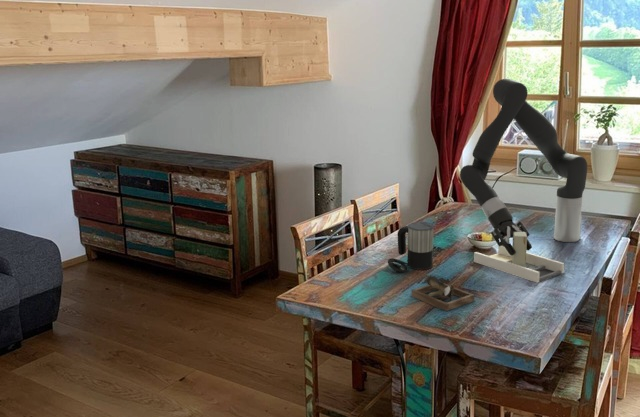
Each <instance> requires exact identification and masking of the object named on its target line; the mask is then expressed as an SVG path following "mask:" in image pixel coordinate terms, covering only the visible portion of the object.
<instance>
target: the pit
mask: <svg viewBox="0 0 640 417" xmlns="http://www.w3.org/2000/svg"><path fill="white" fill-rule="evenodd" d="M532 270H535V271H538V272H540V275H539V282H538V283H540V282H543V281H546V280H548V279H551V278H554V277H557V276H559V275H562V274H561V271H560V270H558V271H552V270H549V269H545V266H544V265H543V266H540V267H538V266H536V268H535V267H534V268H532Z"/></svg>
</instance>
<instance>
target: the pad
mask: <svg viewBox="0 0 640 417" xmlns="http://www.w3.org/2000/svg"><path fill="white" fill-rule="evenodd" d="M490 256H491V257H494V258H497V259H500V260H503V261H507V262H510V263H511V262H512V258H511V257H507V256H504V255H501V254H498V252H497V253H495V254H490Z"/></svg>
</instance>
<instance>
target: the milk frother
mask: <svg viewBox="0 0 640 417" xmlns="http://www.w3.org/2000/svg"><path fill="white" fill-rule="evenodd" d="M434 229H435V225H434V224H432V223H430V222H424V221H423V222H422V221H416V222H411V223H410V222H409V223H408V224H407V225H404V226H402V227H400V228H399V229H398V231H397V250H398V254H399V255H402V256H403V255H405V254H406V252H407V259H406V260H407V262H404V261H402V260H400V259H397V258H395V257H394V258H389V259H388V260H387V264H388V267H389V268H390V269H391V270H393V271H394V272H395V271H396V273H405V272H407V271H408V269H409V268H411V269H415V270H429V269H432V267H434V263H433V254H434V253H433V252H434V251H433V248H434V247H433V245H434ZM406 233H407V237H406ZM406 238H407V240H406ZM406 243H407V244H406Z"/></svg>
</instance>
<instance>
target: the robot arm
mask: <svg viewBox="0 0 640 417" xmlns="http://www.w3.org/2000/svg"><path fill="white" fill-rule="evenodd" d="M528 93H529V92H528V87H527V86H526V85H525V84H524V83H522V82H520V81H517V80H514V79H511V78H502V79H499V80H497V81H496V82H495V83H494V86H493V89H492V94H493V98H494V100H495V101H496V102H497V104H498V105H500V106H501V107H500V110H499V112H498V113H497V116H496V117H495V118H494V119H493V121H492V122H491V123H490V124H489V125H488V126H487V127H486V128H485V129H484V130H483V131H482V132H481V134H480V136H479V138H478V139H477V142H476V144H475V146H474V148H473V151H472V157H473V160H472V164H467V165H464V166H463V167H462V168H461V169H460V171H459V178H460V181H461V183H462V184H463V185H464V187H465V188H466V189H467V191H469V192H470V193H471V195H472V196H473V197H474V198H475V199H476V201H477V203H478V204H479V206H480V208H481V209H482V211H483V213H484V215H485V217H486V218H487V220H488V222H489V224H490V225H491V226H492V228H493V229H492V231H491V232H490V234H491V235H492V237H493V239H494V241H495V242H496V244H497V246H503V247H505V248H506V250H507V251H508V253H509V254H510V255H511V256H512V255H514V254H515V253H516V251H515V250H514V248H513V247H512V246H513V244H511V243H510V239H513V232H526V234H527V251H530V250H531V249H532V248H533V246H532V244H531V242H530V241H529V239H528V238H529V236H530V235H531V234H530V232H529V231H528V230H527V228H526V227H525V225H524V224H523V223H522V221H518V222H517V223H515V222H514V220H513V219H514V218H513V215H512V214H511V212H510V211H509V209H508V208H507V206H506V204H505V203H504V202H503V200H502V199H501V198H500V196H498V194H497V193H496V191H495V189H494V188H493V187H492V186H491V185H490V184H489V183H487V182H486V181H485V180H486V178H487V176H488V172H489V170H490V165H491V160H492V159H493V156H494V154H495V152H496V150H497V148H498V146H499V144H500V142H501V139H502V138H503V136H504V134H505V132H506V131H507V130H508V128H509V127H510V126H511V124H512V122H513V121H515V122H516V123H517V125H518V126H519V127H520V129H521V130H522V131H523V133H524V134H525V135H526V137H527V138H528V139H529V140H530V141H531V142H532V143H533V145H534V146H535V147H536V148H537V149H538V151H540V153H541V154H542V155H543V156H544V157H545V159H546V160H547V162H548V163H549V165H550V167H551V168H552V170H553V172H555V173H556V175H557V176H559V177H561V178H565V179H566V182H565V185H563V186H559V187H558V188H557V189H556V202H555V217H554V218H555V219H554V234H553V235H554V236H553V238H554V240H556V241H557V242H558V241H559V242H563V243H576V242H578V241H580V239H581V236H582V235H581V234H582V220H583V216H582V207H583V206H582V203H583V193H584V191H585V188H586V181H587V173H588V162H587V159H586V158H585V157H584V156H582V155H577V154H571V153H568V152H567V151H566V150H565V149H563V147H562V146H561V145H560V144H559V141H558V131H557V129H556V128H555V127H554V125H553V124H552V123H551V121H550V120H549V119H548V117H546V116H545V115H544V113H542V112H540V110H538V109H536V107H535V106H533V105H531V104H530V103H529V102H528V101H527V98H528ZM527 251H526V252H527Z"/></svg>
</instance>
